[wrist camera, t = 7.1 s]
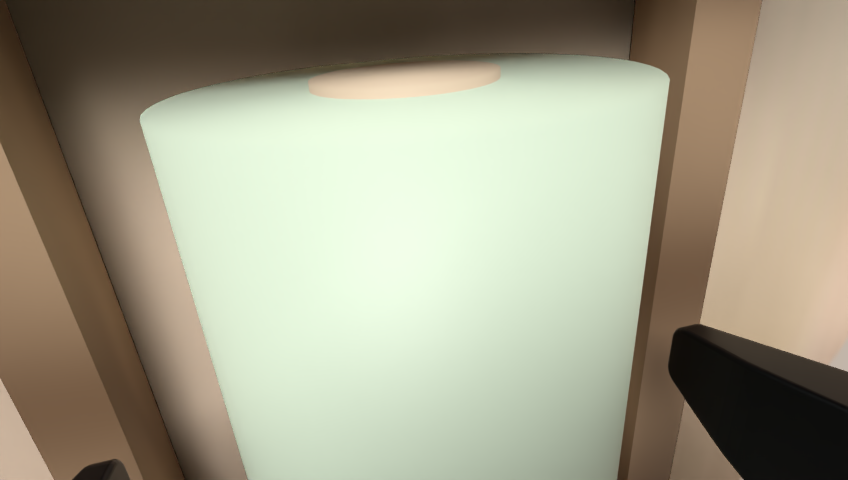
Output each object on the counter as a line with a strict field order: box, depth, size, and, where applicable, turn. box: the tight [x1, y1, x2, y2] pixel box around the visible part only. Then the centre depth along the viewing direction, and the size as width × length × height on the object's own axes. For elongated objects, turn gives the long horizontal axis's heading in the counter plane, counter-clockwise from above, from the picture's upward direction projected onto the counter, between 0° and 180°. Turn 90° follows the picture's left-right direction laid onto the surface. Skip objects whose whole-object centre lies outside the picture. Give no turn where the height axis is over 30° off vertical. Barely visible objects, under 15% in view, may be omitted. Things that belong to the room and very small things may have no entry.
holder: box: [0, 0, 762, 480], centre depth 9 cm, size 16×12×3 cm
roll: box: [140, 53, 670, 480], centre depth 8 cm, size 10×6×6 cm, turn 5°
